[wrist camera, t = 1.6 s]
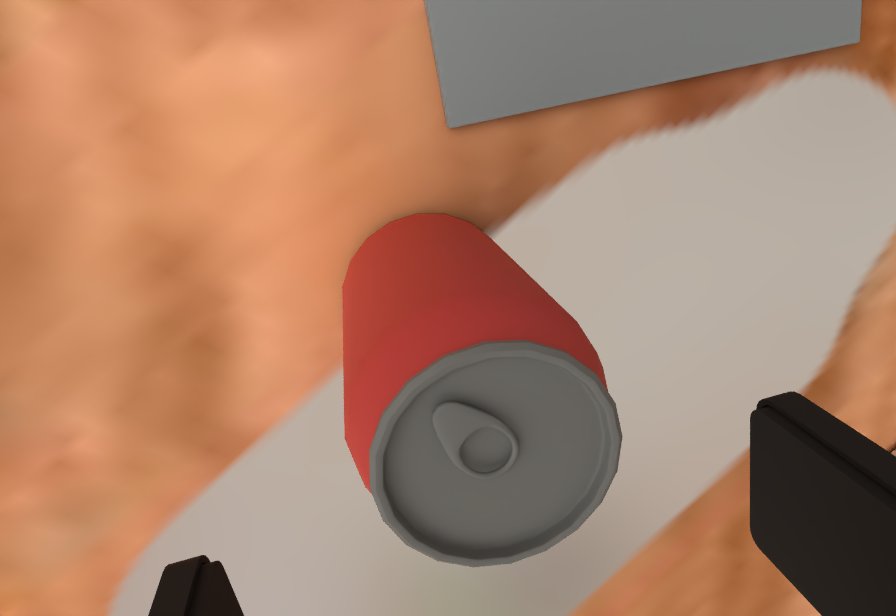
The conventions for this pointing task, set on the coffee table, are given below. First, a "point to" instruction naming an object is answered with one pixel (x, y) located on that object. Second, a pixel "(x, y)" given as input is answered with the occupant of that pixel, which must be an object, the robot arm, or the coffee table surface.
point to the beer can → (470, 396)
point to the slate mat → (611, 46)
